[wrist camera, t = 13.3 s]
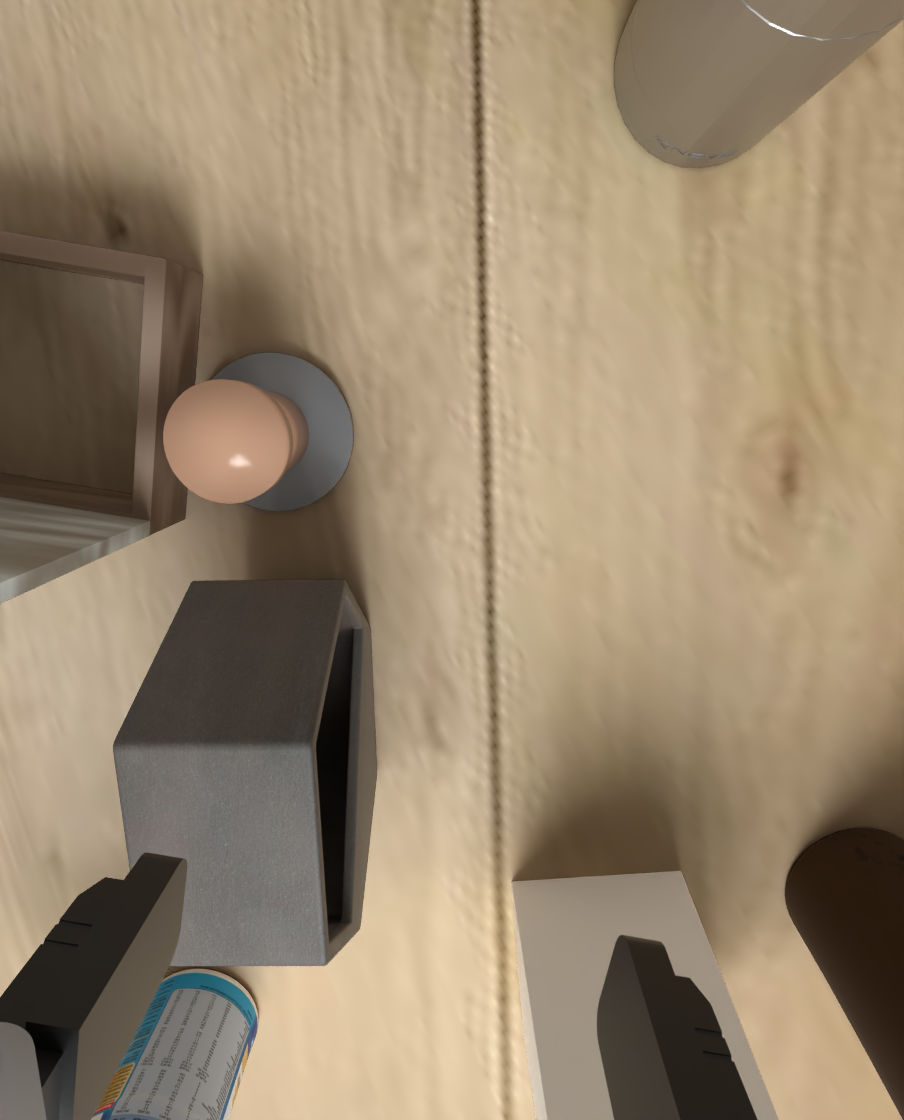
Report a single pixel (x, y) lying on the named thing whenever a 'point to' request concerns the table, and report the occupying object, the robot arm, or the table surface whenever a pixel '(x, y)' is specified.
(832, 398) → the table surface
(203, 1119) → the beverage bottle
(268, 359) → the saucer
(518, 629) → the table surface
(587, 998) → the milk
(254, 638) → the planter
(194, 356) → the hinged wooden box
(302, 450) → the round cabinet knob
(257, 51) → the table surface
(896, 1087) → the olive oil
